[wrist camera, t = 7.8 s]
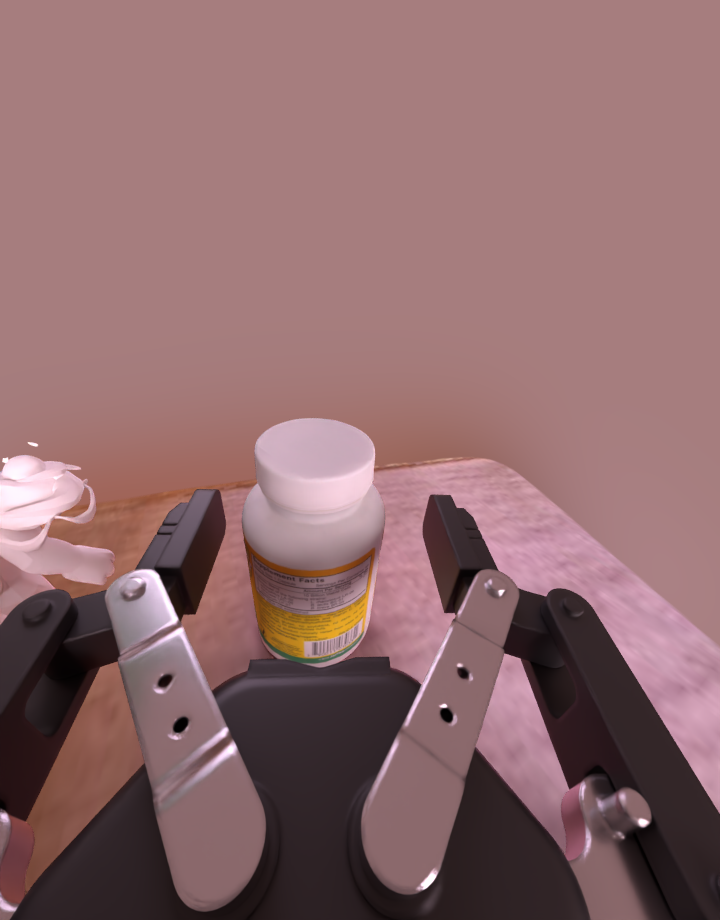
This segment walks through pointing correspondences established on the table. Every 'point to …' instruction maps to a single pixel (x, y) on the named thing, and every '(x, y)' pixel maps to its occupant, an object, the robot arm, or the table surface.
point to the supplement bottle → (313, 539)
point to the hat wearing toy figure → (24, 542)
